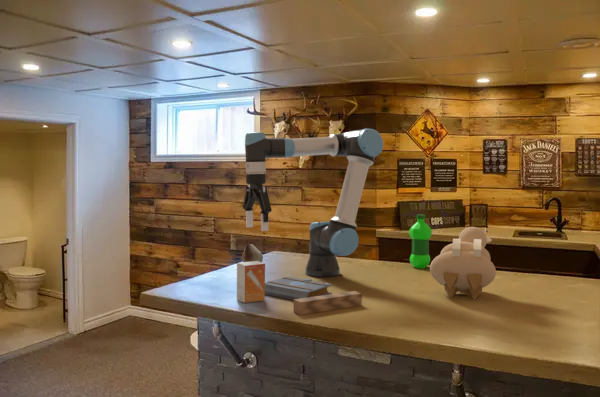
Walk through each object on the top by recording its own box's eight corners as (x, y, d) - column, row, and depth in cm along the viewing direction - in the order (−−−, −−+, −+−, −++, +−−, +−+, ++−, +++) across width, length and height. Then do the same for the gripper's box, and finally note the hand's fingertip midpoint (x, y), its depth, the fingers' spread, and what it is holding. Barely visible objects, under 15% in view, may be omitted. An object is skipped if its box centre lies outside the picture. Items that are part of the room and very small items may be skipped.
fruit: (245, 265, 233) (245, 240, 232) (264, 266, 232) (264, 241, 231) (240, 270, 223) (240, 243, 222) (260, 270, 222) (260, 244, 221)
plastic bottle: (433, 269, 227) (434, 215, 226) (410, 269, 227) (411, 215, 226) (428, 265, 237) (429, 214, 236) (406, 265, 237) (407, 213, 236)
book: (259, 295, 179) (259, 281, 179) (287, 286, 192) (287, 274, 192) (306, 304, 167) (306, 290, 166) (332, 295, 180) (332, 281, 180)
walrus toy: (497, 205, 172) (431, 204, 180) (498, 275, 156) (425, 270, 163) (493, 252, 195) (434, 249, 202) (494, 317, 178) (430, 311, 185)
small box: (244, 303, 165) (244, 265, 165) (236, 299, 171) (236, 262, 170) (265, 300, 170) (265, 263, 169) (256, 296, 175) (256, 260, 175)
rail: (354, 302, 168) (354, 290, 168) (361, 305, 164) (361, 293, 164) (293, 311, 156) (293, 299, 156) (299, 314, 152) (299, 302, 152)
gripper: (233, 173, 194) (235, 226, 195) (261, 173, 172) (262, 233, 174) (251, 173, 198) (252, 225, 199) (279, 173, 176) (281, 231, 178)
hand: (257, 229), depth 186 cm, fingers open, 13 cm apart
